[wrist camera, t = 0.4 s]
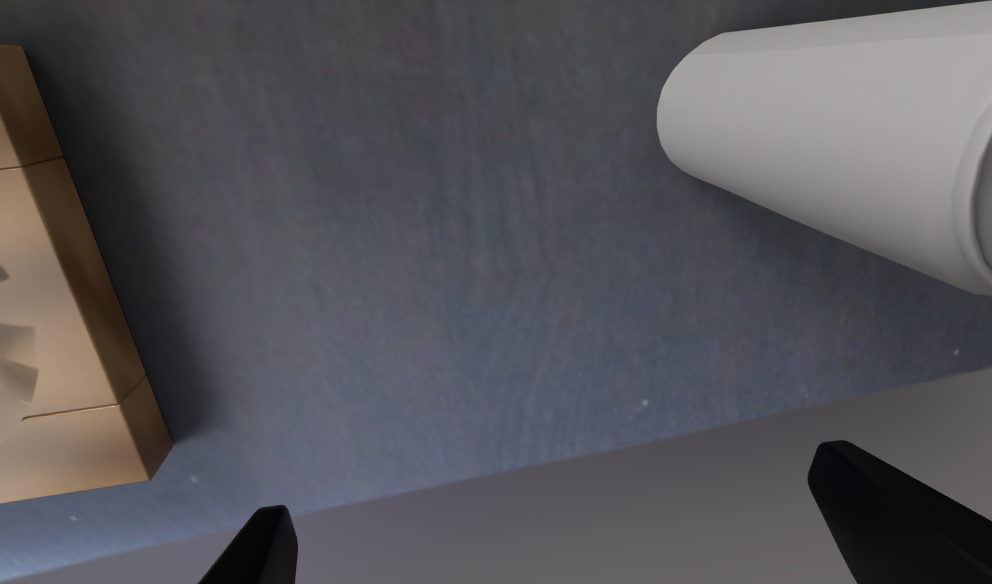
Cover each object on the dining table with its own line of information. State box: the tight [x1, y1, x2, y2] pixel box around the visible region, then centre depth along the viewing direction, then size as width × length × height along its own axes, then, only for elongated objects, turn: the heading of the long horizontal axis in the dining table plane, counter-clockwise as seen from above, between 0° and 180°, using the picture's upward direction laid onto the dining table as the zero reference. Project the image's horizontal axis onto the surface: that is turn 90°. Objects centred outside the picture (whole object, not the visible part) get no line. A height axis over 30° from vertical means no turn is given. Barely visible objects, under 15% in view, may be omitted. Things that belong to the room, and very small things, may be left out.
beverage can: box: [657, 1, 992, 296], centre depth 14 cm, size 5×5×12 cm
